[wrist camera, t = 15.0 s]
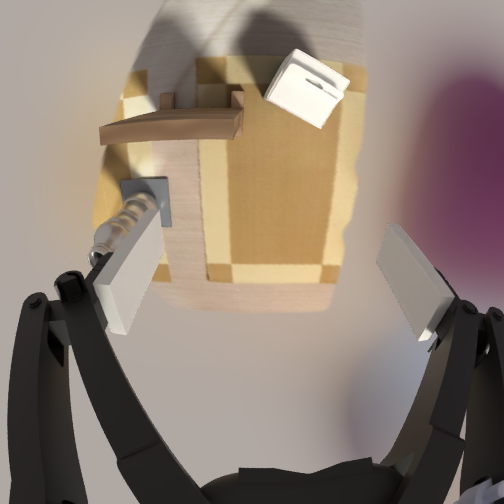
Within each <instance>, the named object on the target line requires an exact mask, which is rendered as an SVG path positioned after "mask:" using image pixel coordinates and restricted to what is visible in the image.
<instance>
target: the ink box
mask: <svg viewBox="0 0 504 504" xmlns="http://www.w3.org/2000/svg"><path fill="white" fill-rule="evenodd" d="M349 83H350V81H349V80H348V79H346V78H345V77H344V76H342V75H341V74H339V73H337V72H336V71H334V70H333V69H331V68H330V67H328V66H326V65H325V64H323V63H321V62H320V61H318V60H316V59H315V58H313V57H311V56H310V55H308V54H306V53H304V52H302V51H300V50H299V49H294V50H293V51H292V52H291V53H290V54H289V55H288V56H287V57H286V58H285V59H284V60H283V62H282V64H281V66H280V67H279V69H278V71H277V73H276V74H275V76H274V78H273V80H272V81H271V83H270V85H269V87H268V89H267V91H266V92H265V94H264V96H263V99H265V100H267V101H269V102H271V103H273V104H275V105H276V106H278V107H280V108H282V109H284V110H286V111H288V112H290V113H291V114H293V115H295V116H297V117H299V118H301V119H303V120H305V121H307V122H308V123H310V124H312V125H314V126H316V127H318V128H320V129H321V128H322V127H323V125H324V124H325V122H326V120H327V119H328V117H329V116H330V114H331V112H332V111H333V109H334V107H335V106H336V104H337V103H338V102H339V101H340V100H341V99H342V98H343V97H344V94H343V93H344V91H345V90H346V88H347V86H348V85H349Z"/></svg>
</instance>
